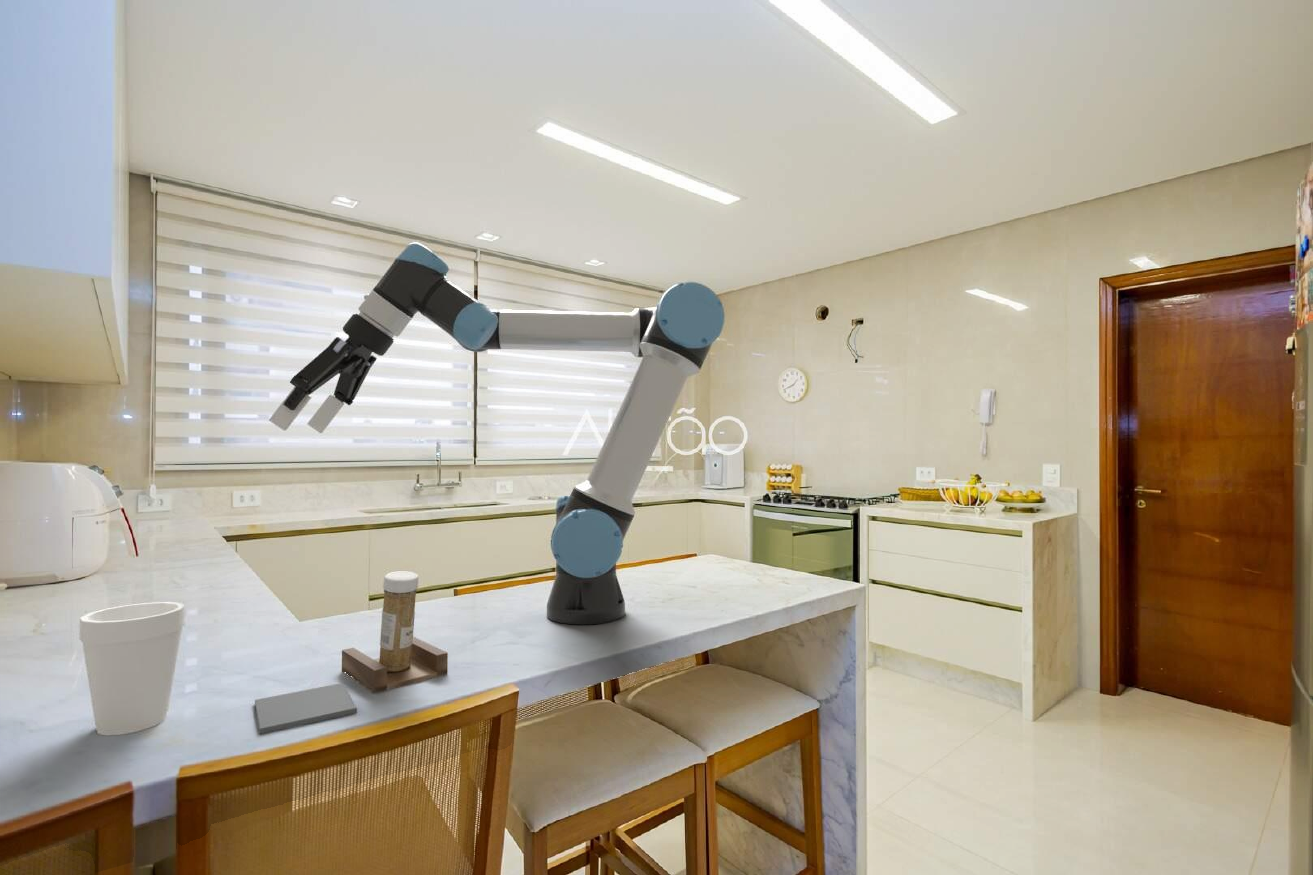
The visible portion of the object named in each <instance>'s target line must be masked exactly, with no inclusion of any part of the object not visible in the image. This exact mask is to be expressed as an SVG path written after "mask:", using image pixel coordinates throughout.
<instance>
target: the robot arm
mask: <svg viewBox="0 0 1313 875" xmlns="http://www.w3.org/2000/svg"><path fill="white" fill-rule="evenodd" d="M448 273H449V265H448V264H447V263H446V262H445V261H444V260H443V259H442V258H441V257H439V255H436V253H434V252H433V251H432V250H430V249H429V248H428V247H426V246H424V245H423V244H421V243H420V242H411V243H409V244H408V245H407V246H406V247H405V248H404V250H403V251H402V252H401V253H400V254H399V255H398V256H397V257H395V258H394V261H393V262H392V264H391V265H390V267H389V268H388V269H387V271H386V272H385V273H384V275H383V276H382V277H381V279H380V280H379V281H378V282H377V283H376V284H375V286H374V287H373V289H372V290H371V291H370V293H368V294H365V295H364V296H363V301H362V303H361V304H360V305H359V307H358V311H359V313H357V312H355V313H353V314H352V315H351V317H350V318H349V319H348V320H347V321H346V323H345V324H344V325H343V327H342V331H343V333H345V334H346V335H347V336H348V338H347V339H345V340H343V339H342V338H341V337H339V336H337V337H335V338H334V339H333V340H332V341H331V343H330V344H329V345H328V346H327V347H326V348H325V349H324V350H322V351H321V352H320V353H319V354H318V355H317V356H316V357H315V358H314V359H312V360H311V361H310V362H309V363H308V364H307V365H305V366H304V367H303V368H302V369H301V370H300V371H298V372H297V373H296V374H295V375H294V376H293V377H292V378H291V380H290V381H289V383H290V384H291V385H292V386H294V387H293V388H292V390H291V391H290V392H289V393H288V395H287V396H286V397H285V399H284V400H283V401H282V403H280V405H279V406H278V407H277V409H276V410H275V411H274V413H273V414H272V415H271V417H270V418H269V420H268V421H269V422H271V423H272V424H274V426H276V427H278V428H279V429H281V430H283V431H287V430H288V429H289V427H290V426H291V425H292V423H294V421H295V419H296V418H297V417H298V416H299V414H300V413H301V412H302V411H303V409H304V408H305V407H306V406H307V404H308V403H309V401H311V399H312V398H313V396H312V395H311V394H313V393H314V392H315V391H317V390H318V389H320V388H321V387H322V386H323V385H325V384H327V383H328V382H330V380H332V379H334V378H335V377H336V376H337V375H339V376H338V379H337V381H336V382H337V383H336V386H335V389H334V392H333V394H331V393H330V394H329V395H328V396H327V398H326V399H325V400H324V402H323V403H322V404H321V406H319V408H318V409H317V410H316V412H314V414H313V415H312V417H311V418H310V419H309V420H308V422H307V423H306V424H307V425H308V426H309V427H311V428H312V429H313V430H315V431H316V432H318V433H320V434H323V432H324V431H325V430H326V429H327V427H328V426H329V425H330V423H331V422H332V421H333V420H334V418H335V417H336V416H337V414H338V413H339V412H340V411H341V409H342V408H343V407H344V406H345V404H346V405H347V406H351V405H352V404H353V403H354V400H355V398H356V397H357V394H358V392H359V391H360V388H361V387H362V385H363V383H364V381H365V379H366V378H367V375H368V374H369V372H370V369H371V368H372V367H373V365H374V364H375V362H376V361H377V359H378V357H376V356H375V355H377V356H380V357H382V356H384V355H385V354H386V353H387V352H388V350H389V348H390V347H391V346H392V345H393V344H394V342H395V341H394V340H395V339H394V338H393V337H394V336H395V337H399V336H400V335H401V334H402V333H403V331H404V330H405V328H406V327H407V325H409V323H410V322H411V321H412V319H413V318H414V316H415V315H416V314H417V313H420V314H421V315H422V316H423V317H425V318H427V319H428V320H429V321H431V322H432V323H433V324H435V325H436V326H438V327H439V328H440V329H442V331H444V332H445V333H447V334H448V335H449V336H450V337H451V338H452V339H454V340H456V342H457V343H458V344H459V346H461V347H462V349H465V350H467V351H469V352H470V351H471V352H474V353H482V352H485V351H487V350H488V351H489V350H522V351H523V350H525V351H528V350H529V351H568V352H569V351H570V352H572V351H573V352H576V351H577V352H578V351H579V352H613V353H614V352H615V353H616V352H618V353H619V352H622V353H631V354H632V355H633V356H634V357H635V358H642V360H641V361H640V364H639V366H638V368H637V370H636V373H635V374H634V376H633V379H632V381H631V384H630V386H629V387H628V389H627V392H626V394H625V396H624V399H623V401H622V403H621V405H620V407H619V410H618V412H617V414H616V415H615V417H614V421H613V422H612V425H611V426H610V429H609V431H608V433H607V435H606V437H605V440H604V441H603V444H602V446H601V449H600V451H599V452H598V455H597V458H596V460H595V462H594V463H593V466H592V468H591V470H590V473H589V474H588V477H587V478H586V480H585V481H584V482H580V483H578V484H576V485H574V487H573V488H572V492H571V494H570V495H564V496H563V495H562V496H560V497H558V498H557V501H556V505H555V510H554V511H555V512H554V513H555V515H556V516H555V518H556V519H555V521H556V522H555V523H556V524H555V526H554V528H553V530H552V532H551V537H550V538H551V539H550V549H551V552H552V554H553V557H554V559H555V564H556V565H555V569H556V570H555V579H554V581H553V584H552V588H551V589H550V593H549V597H548V600H547V603H546V617H547V619H549V620H550V621H553V622H557V623H561V624H567V625H568V624H569V625H595V624H604V623H609V622H613V621H617V620H619V619H622V618H623V617H624V616H625V615H626V600H625V598H624V595H623V591H622V588H621V586H620V582H619V579H618V575H617V562H618V561H619V559H620V557H621V556H622V555H621V554H622V552H623V550H622V549H623V548H624V545H623V544H624V540H625V538H626V535H627V532H628V531H629V528H630V525H631V523H632V521H633V520H634V517H635V515H636V512H635V509H634V505H633V499H634V497H635V496H634V495H635V494H636V492H637V490H638V487H639V486H640V482H641V480H642V479H643V476H644V474H645V472H646V470H647V468H648V465H649V463H650V461H651V458H652V457H653V454H654V452H655V450H656V448H657V445H658V443H659V441H660V438H661V436H662V434H663V432H664V431H665V428H666V425H667V424H668V421H669V419H670V416H671V414H672V412H673V410H674V408H675V406H676V403H677V401H678V399H679V396H680V394H681V392H682V390H683V388H684V386H685V384H686V381H687V379H688V378H689V377H691V376H694V375H697V374H699V373H700V370H701V368H703V367H702V366H703V365H704V363H705V361H706V358H707V355H708V353H709V352H710V349H711V347H712V345H713V343H714V342H715V341H716V340H717V339H718V338H719V337H720V335H721V333H722V331H723V328H724V324H725V318H726V317H725V308H724V306H723V303H722V302H721V299H720V298H719V296H718V295H717V294H716V292H715V291H713V289H711V288H710V287H708V286H706V285H705V284H703V283H700V282H695V281H685V282H684V281H682V282H679V283H677V284H674V285H673V286H671V287H669V288H668V289H667V290H666V291H664V293H663V294H662V295H660V298H659V300H658V302H657V305H656V306H653V307H636V308H635V309H634V310H632V312H601V311H564V310H562V311H559V310H557V311H556V310H524V309H523V310H518V309H516V310H515V309H513V310H512V309H490V308H488V307H487V305H486V304H484V303H483V302H481V301H479V300H477V299H476V298H475V297H474V296H472V295H471V294H469V293H468V292H466V291H464V290H463V289H462V288H460V287H459V286H457V285H456V284H455V283H454V282H452V281H451V280H450V279H449V278H448V277H447V274H448ZM373 353H374V354H375V355H373Z"/></svg>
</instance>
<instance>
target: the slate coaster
mask: <svg viewBox="0 0 1313 875" xmlns="http://www.w3.org/2000/svg"><path fill="white" fill-rule="evenodd" d="M254 705H255V706H254V707H255V713H256V719H257V724H258V730H259V735H261V734H267V733H270V732H276V731H280V730H286V729H289V728H292V727H293V728H294V727H299V726H303V725H306V724H307V725H308V724H312V723H315V722H316V723H317V722H320V721H321V722H322V721H325V719H326V720H330V719H334V718H339V717H343V716H348V715H353V714H357V713H358V707H357V705H356V704H355V702H354V700H353V697H351V695H350V693H349V691H348V689H347V687H346V686H345V684H344V682H341V683H335V684H330V685H324V686H320V687H319V686H318V687H314V688H309V689H305V690H304V689H303V690H299V691H294V692H288V693H283V694H280V695H279V694H278V695H274V696H273V695H272V696H268V697H263V698H258V699H254Z"/></svg>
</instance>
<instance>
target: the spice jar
mask: <svg viewBox="0 0 1313 875" xmlns="http://www.w3.org/2000/svg"><path fill="white" fill-rule="evenodd" d="M382 586H383V587H382V588H383V592H384V593H383V606H382V607H383V608H382V611H381V624H380V626H381V627H380V639H379V640H380V641H379V642H380V643H379V645H380V649H379V658H380V659H379V663H380V664H382V665H384V666H385V667H387V672H398V671H402V670H405V669H407V668H408V667H409V666H410V665H411V663H412V660H411V652H412V643H413V637H414V629H415V628H414V627H415V614H416V612H415V610H416V598H417V597H416V596H417V592H418V591H417V589H418V587H419V575H418V574H417V573H416V572H413V571H407V570H406V571H405V570H403V571H402V570H401V571H400V570H399V571H392V572H388V573H386V574H385V575H384V578H383V585H382Z"/></svg>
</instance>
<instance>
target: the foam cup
mask: <svg viewBox="0 0 1313 875" xmlns="http://www.w3.org/2000/svg"><path fill="white" fill-rule="evenodd" d="M185 607H186V606H185V605H184V604H183V603H181V602H173V601H157V602H155V601H154V602H143V603H135V604H126V605H119V606H114V607H113V606H112V607H109V608H103V609H100V610H97V611H96V610H95V611H92V612H88V613H86V614H84V615H82V616H81V617H79V638H78V639H79V640H80V641H81V643H82V648H83V654H84V656H83V657H84V660H85V668H86V674H87V680H88V681H87V682H88V688H89V694H90V698H91V707H92V713H93V720H94V725H95V727H96V729H95V730H96V732H97V734H98V735H102V736H117V735H118V736H121V735H126V734H130V733H132V734H133V733H137V732H139V731H143V730H146V729H149V728H152V727H154V726H156V725H158V724H160V723H162V722H164V720H165V719H166V718H167V716H168V712H169V707H170V702H171V701H170V700H171V694H172V689H173V684H174V678H175V672H176V666H177V662H178V660H177V659H178V655H179V648H180V642H181V635H182V631H183V627H184V626H185V625H186V624H185V623H186V622H185V620H186V619H185V618H186V613H185V612H186V608H185Z"/></svg>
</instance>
